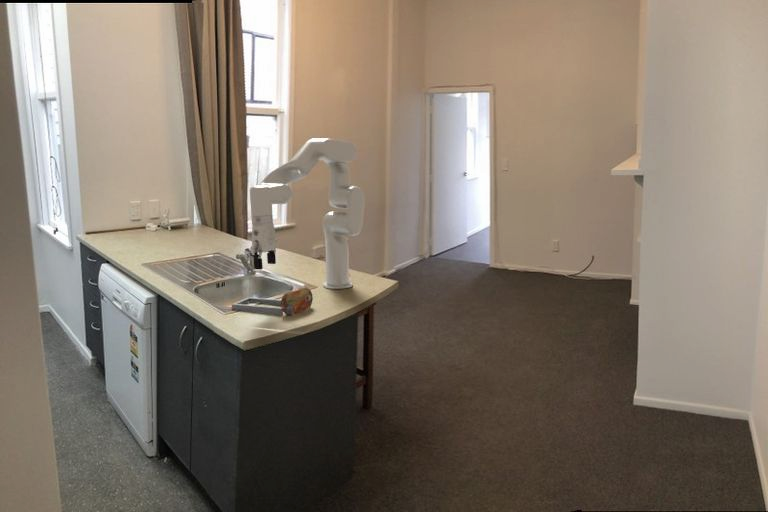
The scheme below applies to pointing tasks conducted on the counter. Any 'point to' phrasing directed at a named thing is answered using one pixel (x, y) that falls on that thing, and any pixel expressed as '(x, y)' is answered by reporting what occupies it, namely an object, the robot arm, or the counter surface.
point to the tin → (296, 301)
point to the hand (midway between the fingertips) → (265, 266)
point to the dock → (260, 309)
